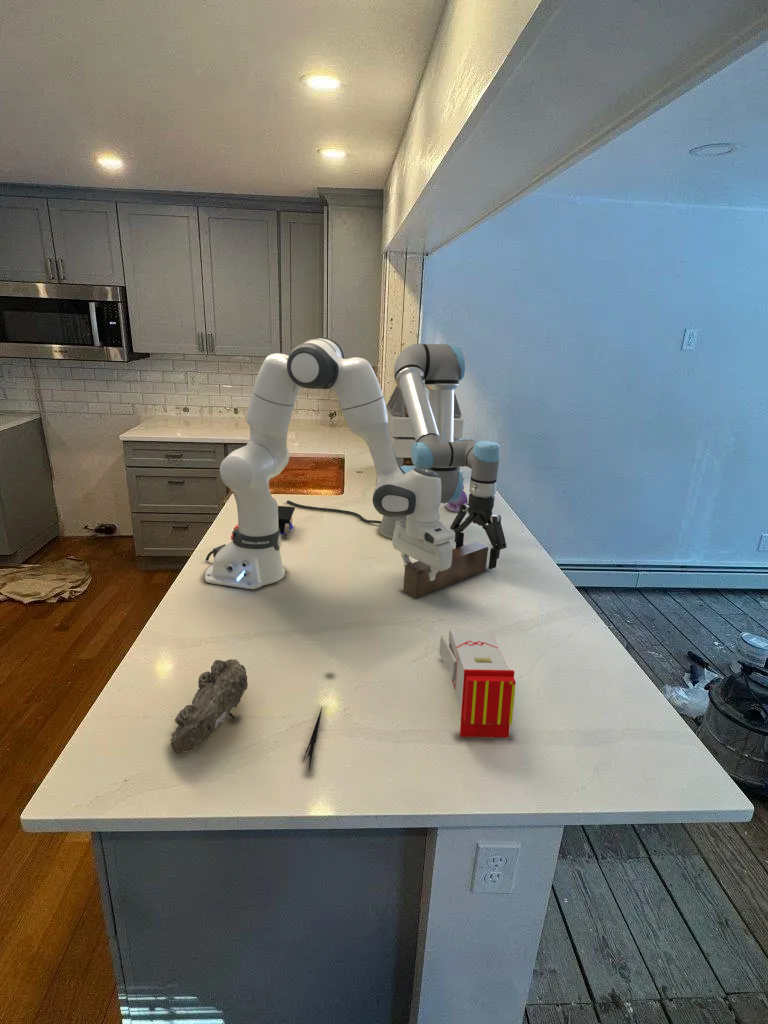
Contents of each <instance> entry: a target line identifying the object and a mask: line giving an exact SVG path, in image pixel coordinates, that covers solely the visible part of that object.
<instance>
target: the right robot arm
mask: <svg viewBox="0 0 768 1024" xmlns="http://www.w3.org/2000/svg"><path fill="white" fill-rule="evenodd" d="M466 368H467V365H466V358H465V354H464V351H463V350H462V348H461V347H459V345H455V344H447V343H444V344H443V343H414V344H410V345H408V346H407V347H405V348H403V350H402V351H400V353H399V354H398V356H397V358H396V359H395V363H394V366H393V377H394V382H395V384H396V386H398V387H400V388H401V391H402V395H403V398H404V402H405V406H406V409H407V413H408V416H409V420H410V423H411V427H412V431H413V434H414V438H415V441H416V443H414V444H413V446H412V449H411V456H412V462H413V464H414V466H406V465H404V466H401V469H402V470H403V471H404V472H405V473H408V472H409V471H411V470H412V469H413V468H416V467H423V468H428V469H431V470H433V471H435V472H436V473H437V474H438V475H439V477H440V479H441V504H443V505H445V504H447V503H450V502H455V501H456V500H458V498H459V497H460V495H461V493H462V489H463V484H464V477H463V475H462V472H463V471H462V470H461V469H460V470H458V469H457V467H460V468H461V467H462V468H463V467H468V468H469V469H470V470H471V472H470V481H469V482H470V484H469V494H468V499H467V503H466V504H462V505H460V510H459V511H458V512H457V513H456V516H455V518H454V519H453V522H452V523H451V525H450V527H449V528H450V530H452V531H453V532H454V543H455V545H454V546H455V548H458V547H461V546H464V540H465V539H464V538H465V532H464V531H465V529H466V528H467V527H469V526H470V525H471V524H476V525H478V526H480V527H482V529H483V530H484V531H485V534H486V535H487V538H488V541H489V542H490V545H491V548H490V551H489V559H488V560H489V561H488V570H491V571H492V569H493V570H494V569H496V568H497V563H498V559H499V558H500V556H501V555H500V553H501V551H502V550H505V549H506V548H507V547H508V546H507V541H506V537H505V533H504V529H503V526H502V516H501V514H498V515H495V514H493V509H494V508H495V507H494V506H495V498H496V497H495V495H496V493H497V490H496V489H497V482H498V481H497V480H498V475H499V473H498V472H499V466H500V465H499V464H500V459H501V445H500V444H499V443H498V442H495V441H492V440H477V441H476V440H474V439H470V438H461V439H460V441H458V442H453V426H454V393H455V390H456V389H457V388H458V387H459V384H460V383H459V382H460V381H462V380H463V379H464V377H465V373H466ZM426 389H427V390H426ZM427 391H428V394H427ZM428 397H429V400H428ZM463 490H464V489H463ZM286 503H287V504H290V505H292V506H293V507H298V508H302V509H307V510H314V511H315V510H316V511H324V512H334V513H341V514H348V515H352V516H356V517H358V518H359V519H360V520H361V521H362V522H365V523H367V524H379V527H378V533H379V534H380V535H381V536H382V537H385V538H387V539H389V540H393V534H394V529H395V527H396V521H397V520H398V519H400V518H403V519H405V520H407V516H398V517H387V516H383V515H382V519H381V520H375V519H373V520H372V519H366V518H364V517H363V516H362V515H361V514H359V513H357V512H355V511H351V510H345V509H337V508H330V507H329V508H328V507H319V506H318V507H316V506H310V505H303V504H299V503H296V502H293V501H291V500H288V499H287V500H286ZM467 514H468V516H467ZM465 516H467V517H466V518H465ZM464 518H465V519H464ZM455 548H454V549H455Z"/></svg>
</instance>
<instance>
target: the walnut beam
mask: <svg viewBox="0 0 768 1024" xmlns="http://www.w3.org/2000/svg"><path fill="white" fill-rule="evenodd" d="M488 554H489V546H488V545H485V544H483V543H480V542H478V541H473V542H470V543H467V544H463V546H461V547H458V548H452V563H451V566H450V568H448V569H447V570H444V571H438V572H437V573H436V576H435V580H433V581H430V580H428V579H427V574H428V573H431V571H432V570H431V569H430V568H431V567H430V566H428V565H426V564H424V563H422V562H420V561H418V560H417V561H414V562H412V563H411V564H408V565H405V567H404V576H403V592H404V593H405V594H408V595H409V596H411V597H413V598H415V599H417V598H419V597H422V596H424V595H427V594H429V593H432V592H435V591H437V590H439V589H440V590H441V589H443V588H445V587H447V586H450V585H453V584H455V583H457V582H459V581H462V580H465V579H467V578H471V577H472V576H475V575H477V574H480V573H483V572H485V571H487V563H488V556H489V555H488Z"/></svg>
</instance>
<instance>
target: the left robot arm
mask: <svg viewBox="0 0 768 1024" xmlns="http://www.w3.org/2000/svg"><path fill="white" fill-rule="evenodd" d="M300 388H303V389H310V390H329V389H333V391H334V392H335V393H336V396H337V398H338V401H339V405H340V408H341V411H342V414H343V417H344V419H345V421H346V424H347V426H348V428H349V430H350V432H351V433H352V434H353V435H355V436H356V437H357V438H360V439H362V440H363V441H364V442H365V443H366V446H367V447H368V450H369V453H370V456H371V459H372V461H373V465H374V467H375V471H376V479H375V487H374V490H373V494H372V504H373V507H374V509H375V511H376V512H377V513H378V514H380V515H382V517H383V516H387V517H398V516H407V520H405V519H403V518H400V519H398V520H397V521H396V527H395V529H394V534H393V539H391V540H392V541H391V545H392V547H393V549H394V550H396V551H398V552H400V554H401V555H400V557H401V558H402V562H403V567H404V568H405V565H408V564H411V563H413V561H411V558H413V559H414V560H417V561H420V562H422V563H424V564H426V565H428V566H430V567H431V568H430V569H431V570H432V571H431V573H428V574H427V579H428V580H430V581H433V580H435V576H436V573H437V572H438V571H444V570H447V569H448V568H450V566H451V563H452V549H453V544H452V542H451V541H452V540H454V539H453V538H454V535H453V532H452V531H450V530H449V529H448V528H447V527H446V526H445V525H444V523H442V522H441V521H440V506H441V504H442V503H441V479H440V477H439V475H438V474H437V473H436V472H435V471H433V470H431V469H428V468H423V467H416V468H413V469H412V470H411V471H409V472H408V473H405V472H404V471H403V470H402V469H401V467H400V466H399V464H398V462H397V459H396V456H395V453H394V450H393V447H392V444H391V441H390V437H389V429H388V415H387V409H386V405H387V403H386V399H385V396H384V394H383V390H382V387H381V384H380V382H379V379H378V377H377V375H376V372H375V371H374V369H373V367H372V365H371V364H370V362H369V361H368V360H367V359H365V358H362V357H348V358H345V354H344V351H343V348H342V347H341V346H340V345H339V343H338V342H337V341H335V340H333V339H332V338H329V337H318V338H311V339H308V340H306V341H304V342H303V343H301V344H298V345H296V346H295V347H294V348H293V349H292V350H291V352H290V353H289V354H285V353H280V352H279V353H278V352H277V353H271V354H269V355H267V356H266V357H265V358H264V360H263V362H262V363H261V367H260V368H259V370H258V373H257V376H256V379H255V382H254V385H253V389H252V393H251V396H250V400H249V405H248V409H247V412H246V416H245V417H246V423H247V425H248V426H249V439H248V441H247V444H246V445H244V446H242V447H239V448H236V449H234V450H233V451H231V452H230V453H229V454H228V455H227V456H226V457H225V458H224V459H223V460H222V461H221V463H220V464H219V465H220V466H219V475H220V479H221V481H222V482H223V484H224V485H225V486H226V488H228V489H230V490H231V492H232V495H233V497H234V499H235V503H236V510H237V524H236V525H235V526H234V527H233V530H232V532H231V535H230V540H231V541H230V542H229V543H227V544H224V543H223V544H222V545H218V546H217V547H214V548H212V550H211V551H209V553H208V554H206V555H207V556H206V557H205V562H209V559H210V558H211V556H212V557H213V561H212V564H210V566H209V567H208V568H207V570H206V572H205V573H204V580H205V582H206V583H207V584H208V583H209V584H214V585H220V586H228V587H233V588H234V587H235V588H241V589H248V590H256V589H259V588H261V587H263V586H267V585H272V584H275V583H276V582H279V581H281V580H283V578H284V577H285V575H286V571H285V568H284V565H283V560H282V556H281V545H282V541H281V539H282V537H281V534H280V528H279V527H278V506H279V504H278V501H277V500H276V499H275V498H273V496H272V493H271V490H270V481H271V479H273V478H275V477H277V476H279V475H280V474H281V473H282V472H283V471H284V469H286V467H287V465H288V464H289V461H290V452H289V449H288V447H287V445H288V431H289V426H290V423H291V419H292V416H293V415H292V414H293V411H294V409H295V404H296V401H297V396H298V394H299V391H300ZM410 557H411V558H410Z"/></svg>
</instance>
